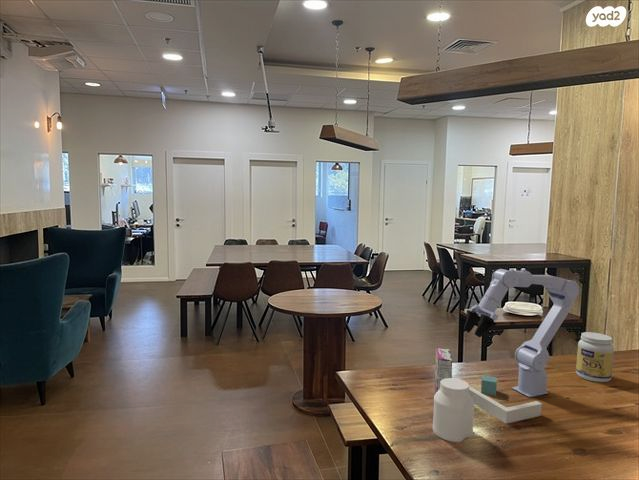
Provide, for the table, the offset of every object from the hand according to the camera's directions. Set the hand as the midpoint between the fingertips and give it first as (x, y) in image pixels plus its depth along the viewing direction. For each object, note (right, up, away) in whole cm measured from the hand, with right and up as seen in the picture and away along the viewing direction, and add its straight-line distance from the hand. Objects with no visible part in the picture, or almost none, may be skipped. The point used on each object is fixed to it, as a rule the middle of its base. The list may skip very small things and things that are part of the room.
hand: (471, 333), depth 150 cm
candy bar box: (-10, -24, +2) cm, 26 cm away
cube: (+9, -23, +8) cm, 26 cm away
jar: (-13, -25, -20) cm, 35 cm away
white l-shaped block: (+9, -24, -2) cm, 26 cm away
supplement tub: (+57, -23, +23) cm, 66 cm away
